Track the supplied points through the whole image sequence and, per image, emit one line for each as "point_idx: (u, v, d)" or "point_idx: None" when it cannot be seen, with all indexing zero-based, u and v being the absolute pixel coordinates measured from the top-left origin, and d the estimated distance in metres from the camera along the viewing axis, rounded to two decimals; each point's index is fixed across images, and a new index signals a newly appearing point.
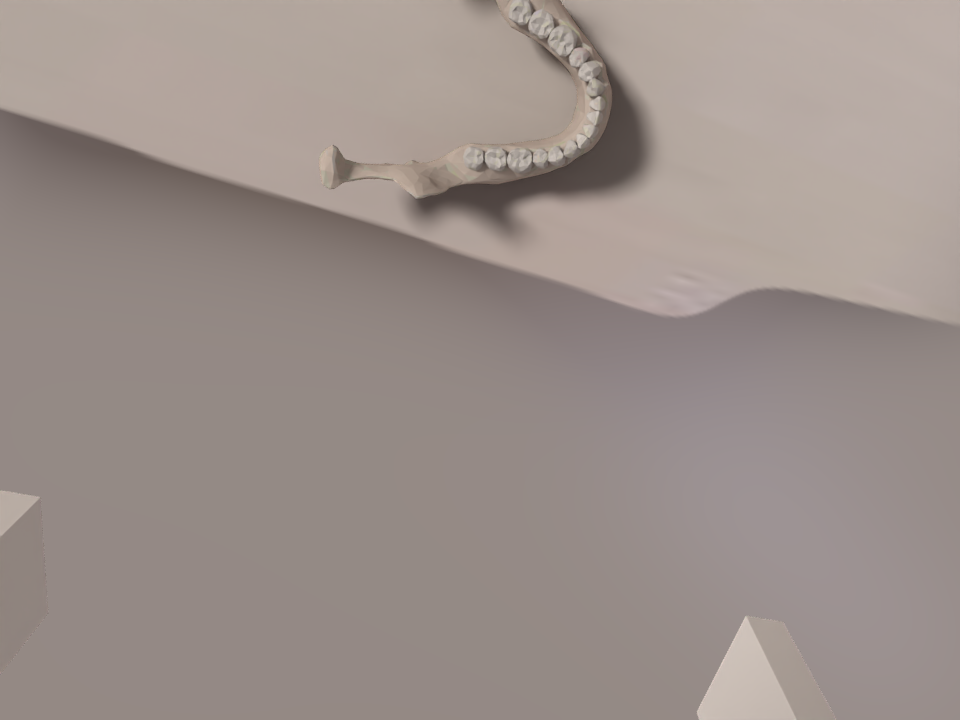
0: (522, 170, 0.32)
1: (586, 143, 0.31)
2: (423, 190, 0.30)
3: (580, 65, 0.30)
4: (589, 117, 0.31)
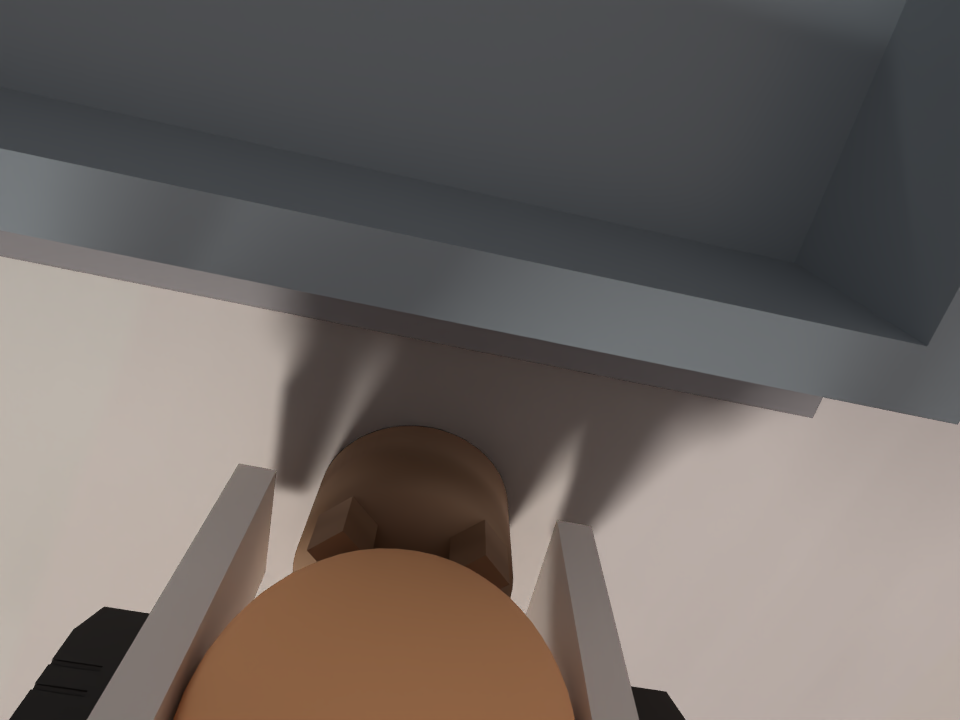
0: None
1: None
2: None
3: None
4: None
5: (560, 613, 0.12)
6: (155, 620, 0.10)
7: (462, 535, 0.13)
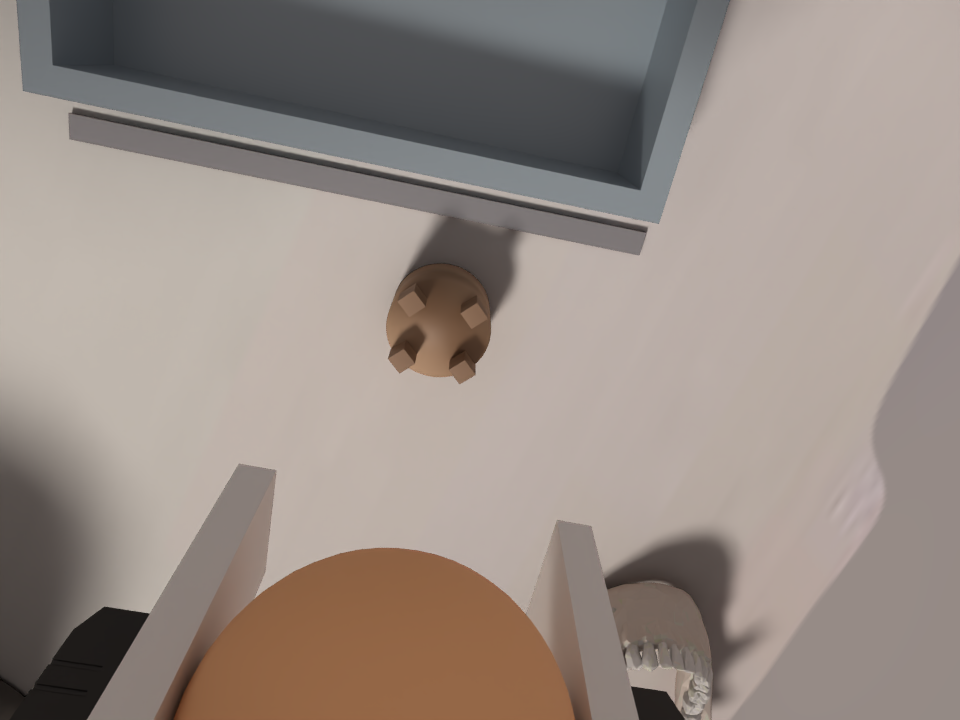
0: (710, 696, 0.34)
1: (698, 671, 0.32)
2: None
3: None
4: None
5: (560, 613, 0.12)
6: (155, 620, 0.10)
7: (466, 303, 0.27)
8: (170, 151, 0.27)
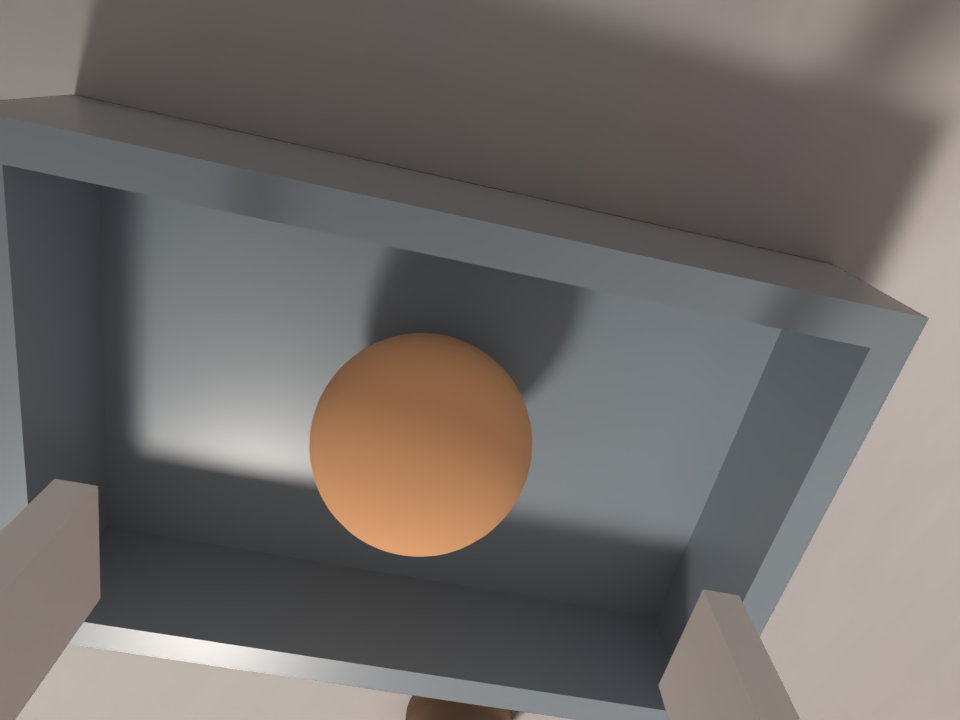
0: None
1: None
2: None
3: None
4: None
5: (726, 700, 0.11)
6: None
7: None
8: None
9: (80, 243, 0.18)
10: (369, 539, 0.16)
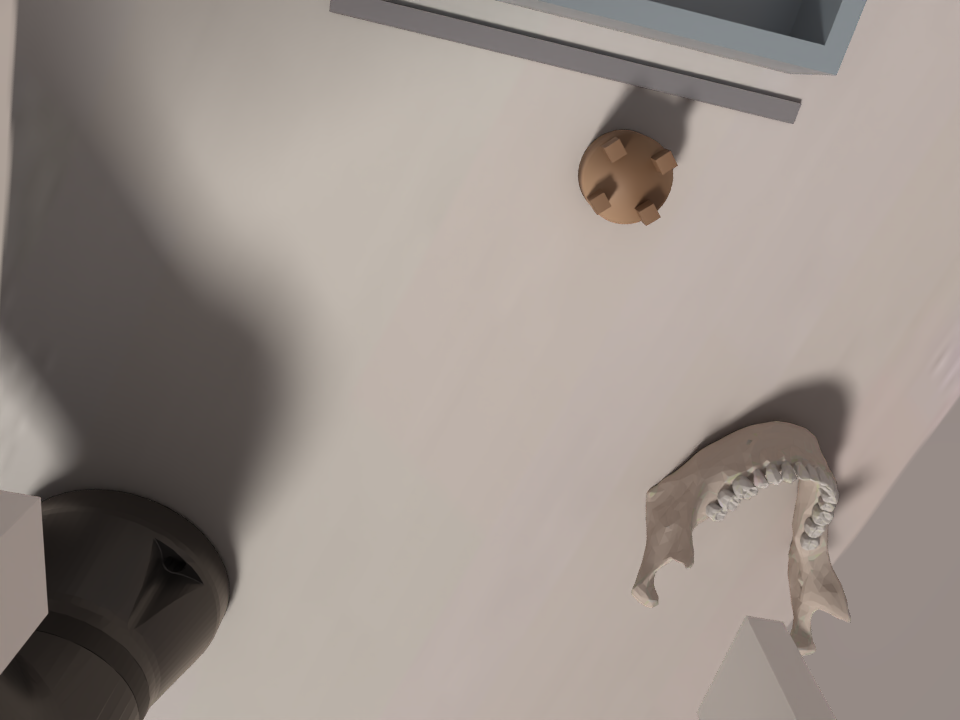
0: None
1: (831, 485, 0.37)
2: (842, 610, 0.39)
3: (768, 482, 0.38)
4: None
5: None
6: None
7: (655, 156, 0.32)
8: (412, 23, 0.32)
9: None
10: None
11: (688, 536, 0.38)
